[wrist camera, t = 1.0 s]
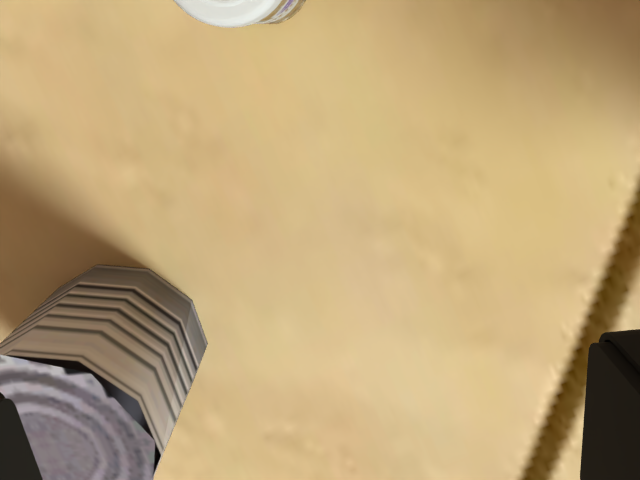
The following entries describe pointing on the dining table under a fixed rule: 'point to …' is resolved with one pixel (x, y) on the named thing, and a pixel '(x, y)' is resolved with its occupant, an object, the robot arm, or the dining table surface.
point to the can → (103, 373)
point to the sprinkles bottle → (240, 11)
